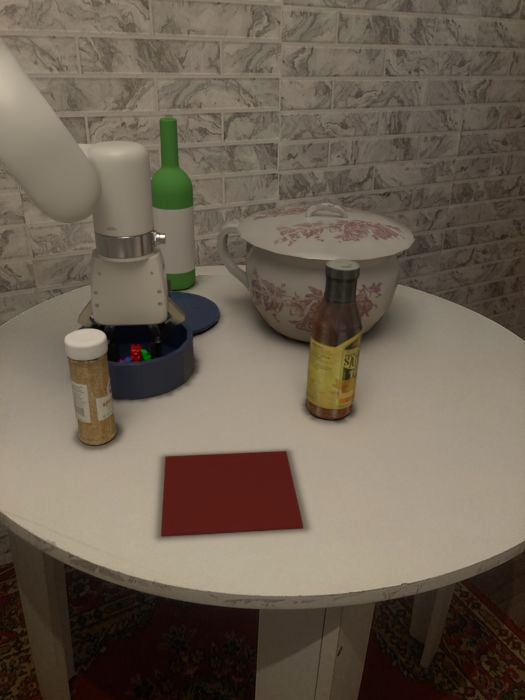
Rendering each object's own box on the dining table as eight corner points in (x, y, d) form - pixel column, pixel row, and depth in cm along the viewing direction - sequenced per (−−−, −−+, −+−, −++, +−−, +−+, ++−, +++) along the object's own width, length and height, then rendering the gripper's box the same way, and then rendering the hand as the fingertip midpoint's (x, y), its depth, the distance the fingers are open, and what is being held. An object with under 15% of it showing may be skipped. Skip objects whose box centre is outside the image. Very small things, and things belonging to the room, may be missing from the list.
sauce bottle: (347, 426, 75) (364, 278, 65) (299, 416, 77) (309, 270, 67) (357, 399, 80) (374, 259, 71) (312, 390, 82) (323, 253, 73)
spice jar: (120, 441, 71) (110, 341, 65) (81, 450, 69) (66, 348, 63) (112, 420, 75) (101, 324, 68) (75, 428, 73) (60, 330, 66)
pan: (66, 401, 78) (61, 366, 76) (86, 342, 93) (82, 312, 90) (193, 397, 80) (192, 362, 77) (193, 340, 94) (192, 309, 92)
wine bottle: (156, 293, 111) (145, 121, 96) (154, 277, 117) (143, 115, 103) (197, 290, 112) (193, 121, 98) (193, 275, 119) (188, 115, 105)
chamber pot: (435, 337, 98) (458, 212, 88) (303, 383, 84) (313, 241, 74) (325, 282, 118) (334, 175, 108) (204, 312, 104) (201, 193, 94)
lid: (109, 342, 93) (105, 309, 90) (120, 297, 108) (117, 268, 106) (221, 339, 95) (221, 307, 92) (217, 296, 110) (217, 267, 107)
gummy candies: (116, 370, 85) (114, 348, 83) (120, 361, 87) (118, 339, 86) (151, 371, 85) (149, 349, 83) (154, 362, 87) (153, 341, 86)
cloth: (161, 536, 58) (161, 534, 58) (165, 458, 68) (165, 456, 68) (303, 528, 59) (303, 525, 59) (286, 452, 70) (286, 450, 70)
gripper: (191, 233, 81) (194, 350, 90) (63, 234, 80) (79, 353, 88) (191, 251, 75) (195, 375, 84) (52, 252, 73) (70, 379, 82)
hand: (135, 362), depth 86 cm, fingers closed on gummy candies, 4 cm apart
